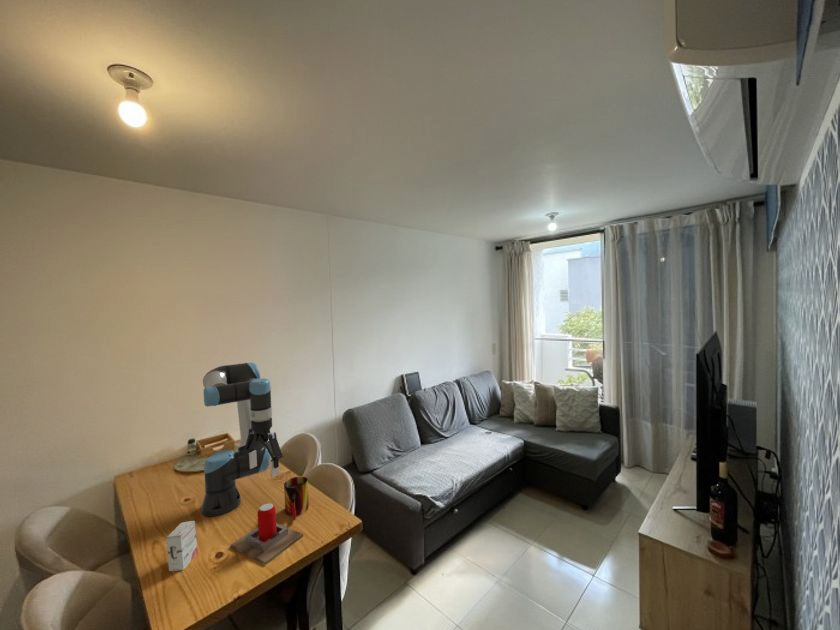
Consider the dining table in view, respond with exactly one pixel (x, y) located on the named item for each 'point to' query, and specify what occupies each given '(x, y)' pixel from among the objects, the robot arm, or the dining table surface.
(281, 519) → the dining table surface
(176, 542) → the ink box
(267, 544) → the steel collar
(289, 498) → the mug
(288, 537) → the walnut plate
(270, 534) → the beverage can
